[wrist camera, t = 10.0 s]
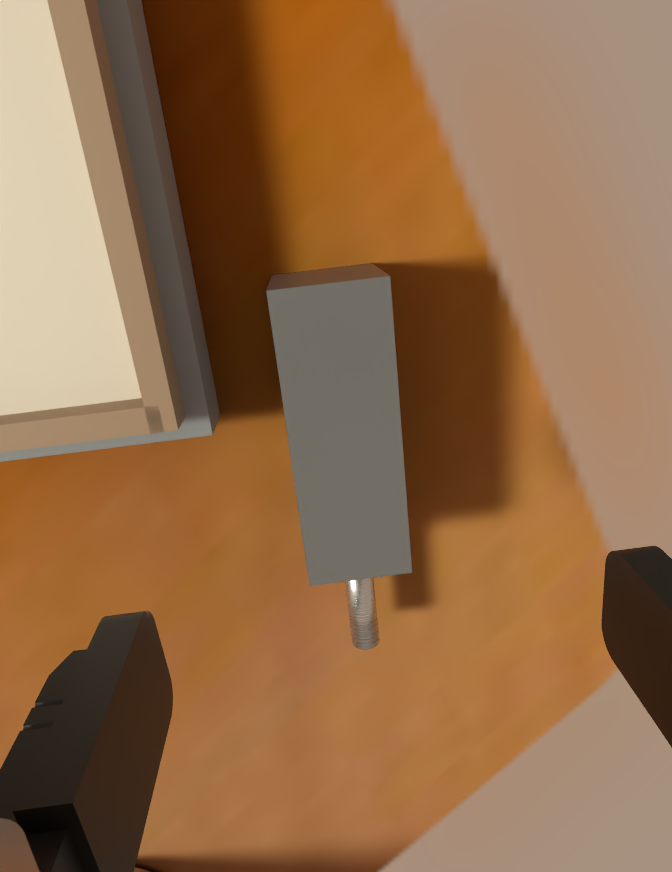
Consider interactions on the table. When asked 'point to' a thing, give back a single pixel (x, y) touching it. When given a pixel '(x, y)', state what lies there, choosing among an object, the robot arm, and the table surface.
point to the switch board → (91, 240)
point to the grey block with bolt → (344, 429)
